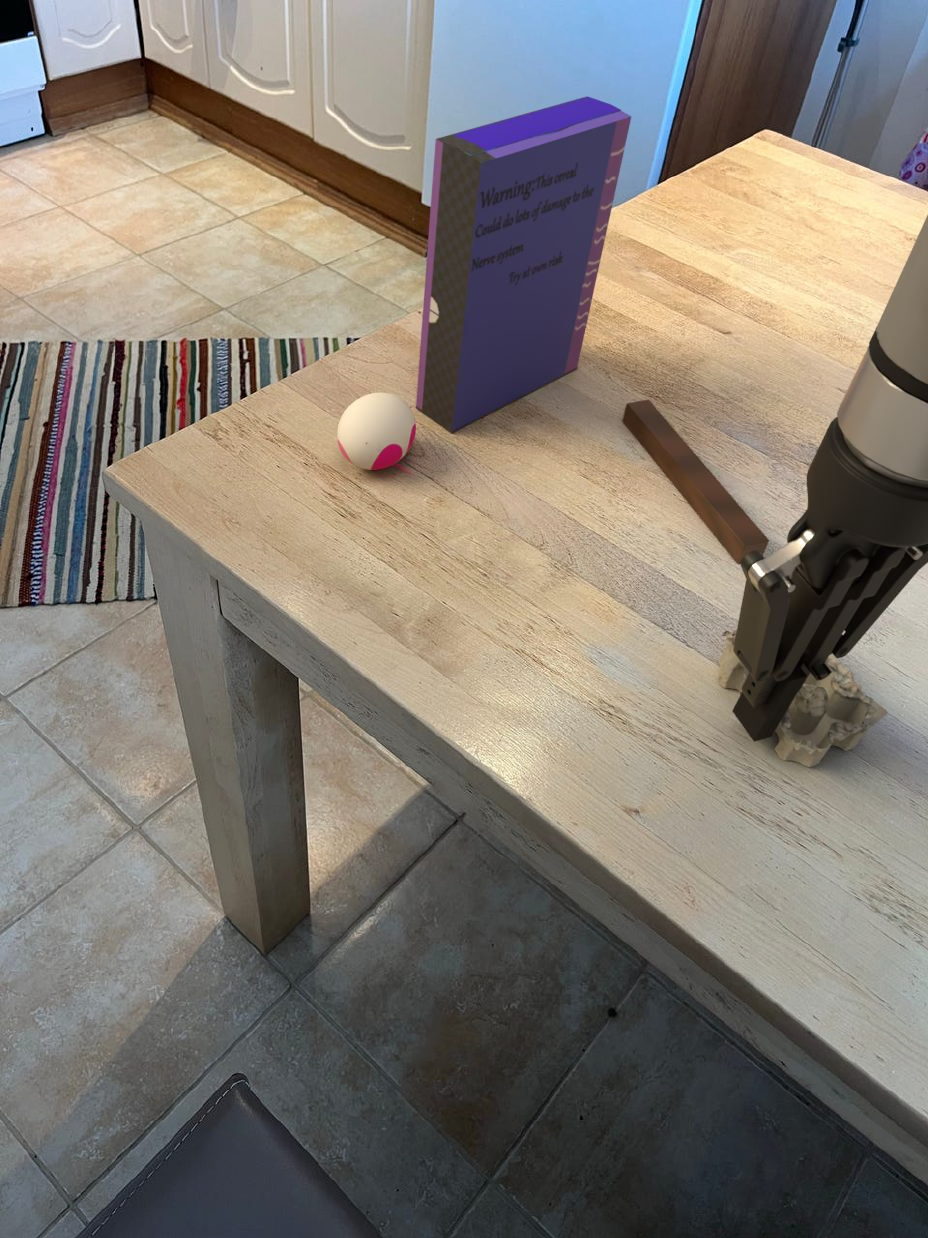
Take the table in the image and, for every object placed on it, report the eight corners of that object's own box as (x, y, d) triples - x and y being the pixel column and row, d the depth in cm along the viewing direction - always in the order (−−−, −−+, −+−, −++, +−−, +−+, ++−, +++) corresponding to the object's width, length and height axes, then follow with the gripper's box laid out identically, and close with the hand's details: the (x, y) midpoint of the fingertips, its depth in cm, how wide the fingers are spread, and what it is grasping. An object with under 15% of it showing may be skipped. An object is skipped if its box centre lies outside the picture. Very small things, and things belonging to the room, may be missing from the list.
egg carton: (700, 663, 70) (716, 626, 67) (781, 638, 72) (801, 601, 69) (787, 779, 63) (810, 743, 60) (874, 747, 66) (899, 712, 63)
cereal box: (541, 347, 96) (587, 93, 79) (576, 369, 94) (632, 113, 77) (415, 408, 87) (435, 135, 70) (451, 433, 85) (481, 159, 68)
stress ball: (366, 516, 82) (403, 487, 76) (305, 443, 80) (338, 408, 75) (418, 472, 86) (457, 441, 80) (361, 401, 84) (396, 365, 79)
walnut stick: (761, 558, 78) (769, 540, 77) (737, 563, 77) (745, 546, 76) (643, 417, 90) (649, 399, 89) (621, 420, 89) (626, 402, 88)
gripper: (953, 383, 51) (796, 661, 69) (757, 418, 47) (642, 705, 64) (1057, 468, 47) (861, 742, 64) (851, 515, 43) (700, 795, 60)
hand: (751, 723), depth 64 cm, fingers closed
